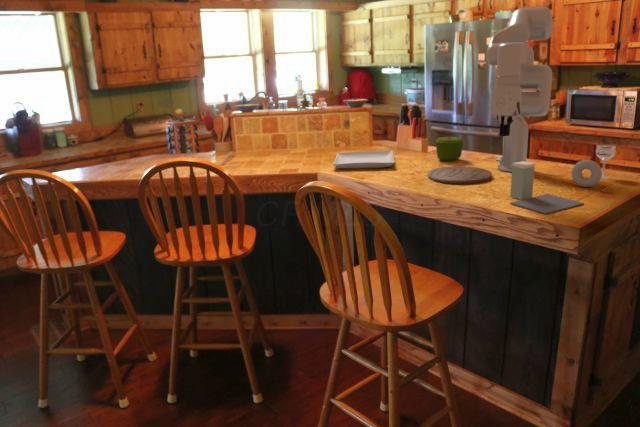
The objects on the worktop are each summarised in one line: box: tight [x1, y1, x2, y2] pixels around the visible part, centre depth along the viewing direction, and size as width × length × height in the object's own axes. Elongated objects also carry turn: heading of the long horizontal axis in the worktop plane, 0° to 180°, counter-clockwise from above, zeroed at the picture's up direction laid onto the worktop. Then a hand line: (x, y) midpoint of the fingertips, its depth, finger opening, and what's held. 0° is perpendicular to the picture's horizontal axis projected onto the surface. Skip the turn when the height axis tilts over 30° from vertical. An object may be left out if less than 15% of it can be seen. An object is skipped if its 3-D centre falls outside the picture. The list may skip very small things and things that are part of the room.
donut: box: [571, 159, 603, 188], centre depth 191 cm, size 10×4×10 cm, turn 48°
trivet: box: [427, 165, 493, 186], centre depth 214 cm, size 25×25×2 cm
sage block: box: [509, 161, 536, 201], centre depth 181 cm, size 5×5×12 cm
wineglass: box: [595, 144, 617, 180], centre depth 202 cm, size 7×7×12 cm
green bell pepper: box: [435, 136, 464, 162], centre depth 244 cm, size 12×12×11 cm
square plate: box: [333, 150, 396, 170], centre depth 246 cm, size 27×27×4 cm
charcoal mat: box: [509, 193, 584, 215], centre depth 174 cm, size 14×18×1 cm
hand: (504, 135), depth 184 cm, fingers closed
